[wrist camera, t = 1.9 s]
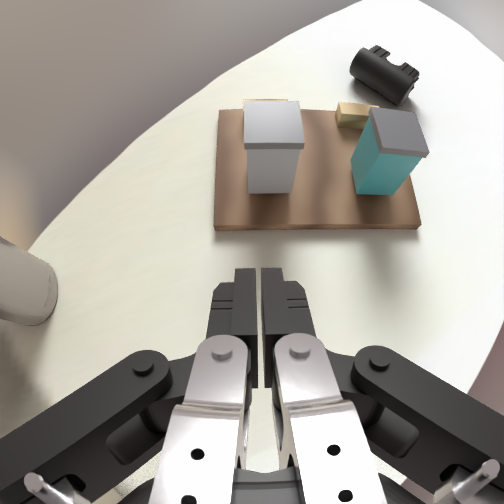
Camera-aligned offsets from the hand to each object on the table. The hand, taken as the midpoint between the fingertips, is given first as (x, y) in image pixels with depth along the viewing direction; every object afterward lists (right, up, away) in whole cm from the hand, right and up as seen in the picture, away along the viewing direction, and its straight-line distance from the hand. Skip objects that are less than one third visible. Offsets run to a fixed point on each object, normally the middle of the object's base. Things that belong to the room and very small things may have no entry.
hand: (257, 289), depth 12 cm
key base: (+8, +13, +29) cm, 33 cm away
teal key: (+15, +11, +26) cm, 32 cm away
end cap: (+22, +29, +35) cm, 50 cm away
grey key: (+2, +10, +26) cm, 28 cm away
